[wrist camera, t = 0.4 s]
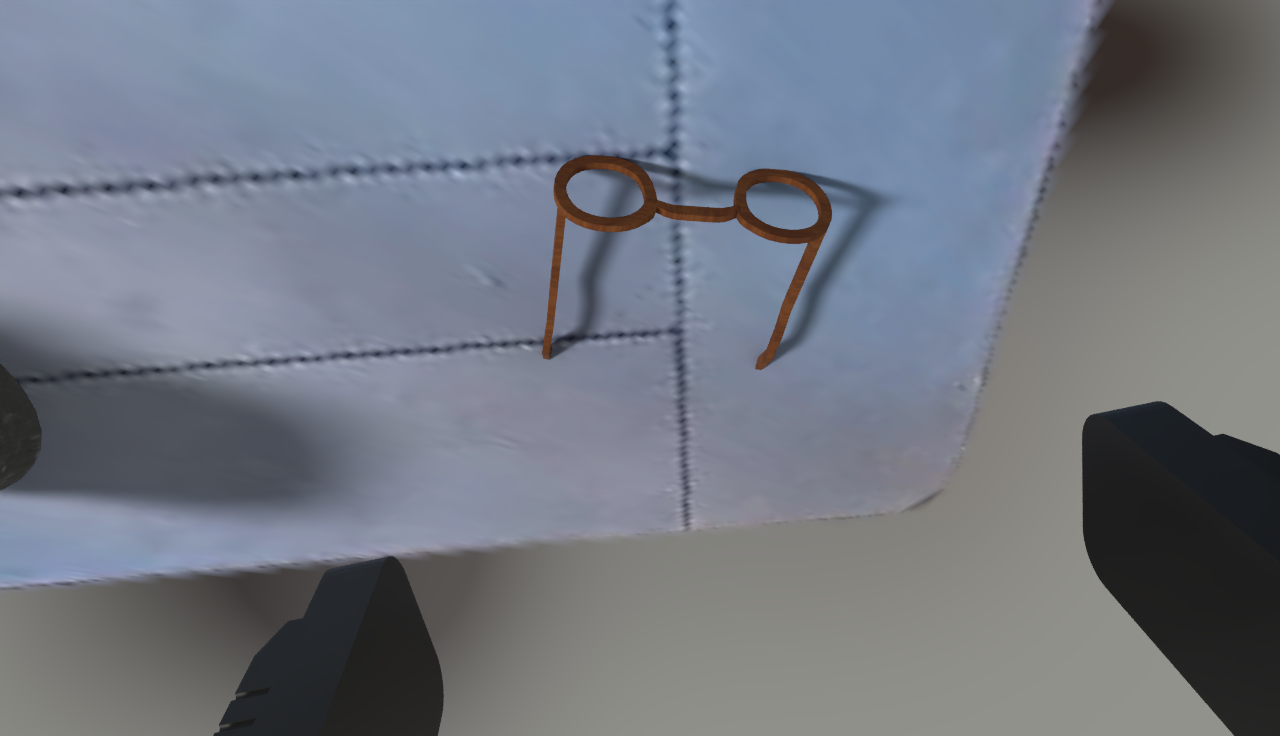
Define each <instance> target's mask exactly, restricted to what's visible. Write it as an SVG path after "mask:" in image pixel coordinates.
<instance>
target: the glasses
mask: <svg viewBox="0 0 1280 736" xmlns="http://www.w3.org/2000/svg"><path fill="white" fill-rule="evenodd" d="M589 169H607V170H613V171H617V172H620V173H623V174H625V175H627V176H629V177H631V178H632V179H633V180H634V181H635V182H637V184H638V185H639V187H640V189H641V191H642V194H643V198H644V205H643V206H642V207H641V208H640V209H639V210H638V211H636V212H635V213H633V214H631V215H628V216H624V217H617V218H606V217H599V216H595V215H591V214H588V213H586V212H583V211H582V210H580V209H578V208H577V207H576V206H575V205H574V204H573V203H572V202H571V200H570V199H569V197H568V194H567V191H566V186H567V183H568V181H569V180H570V179H571V177H573V176H574V175H575V174H577V173H579V172H581V171H585V170H589ZM762 182H780V183H785V184H789V185H792V186H795V187H797V188H799V189H801V190H803V191H804V192H805V193H806V194H808V195H809V196H810V197H811V199H812V200H813V201H814V203H815V205H816V207H817V210H818V215H819V217H818V221H817V222H816V224H814V225H813V226H811V227H809V228H805V229H800V230H787V229H780V228H776V227H773V226H770V225H768V224H766V223H764V222H762V221H761V220H759V219H758V218H756V217H755V216H754V215H753V214H752V213H751V212H750V210H749V208H748V206H747V202H746V192H747V190H748V189H749V188H750V187H751V186H753V185H755V184H758V183H762ZM554 199H555V202H556V205H557V207H558V208H557V219H556V229H555V239H554V249H553V259H552V269H551V280H550V290H549V301H548V313H547V323H546V330H545V337H544V344H543V351H542V354H543V358H544V359H549V360H550V355H551V349H552V348H551V340H552V333H553V326H554V317H555V309H556V300H557V291H558V282H559V272H560V263H561V254H562V245H563V236H564V227H565V218H567V219H568V220H570V221H572V222H573V223H575V224H577V225H579V226H582V227H584V228H587V229H591V230H595V231H603V232H622V231H628V230H632V229H635V228H638V227H640V226H642V225H644V224H646V223H647V222H649V221H650V220H652V219H653V218H654V215H655V213H658V214H660V215H662V216H665V217H668V218H671V219H675V220H686V221H700V222H726V221H729V220H732V219H735V218H737V220H738V221H739V223H740V224H741V225H742V226H743V227H745V228H746V229H748V230H750V231H751V232H753V233H755V234H756V235H758V236H760V237H763V238H765V239H768V240H771V241H775V242H779V243H787V244H801V243H808V244H807V247H806V249H805V251H804V254H803V256H802V259H801V261H800V263H799V266H798V268H797V270H796V273H795V275H794V277H793V280H792V282H791V284H790V287H789V289H788V292H787V294H786V296H785V299H784V301H783V303H782V307H781V310H780V313H779V316H778V319H777V322H776V326H775V329H774V331H773V334H772V336H771V339H770V342H769V344H768V347H767V349H766V350H765V351H764V352H763V353H762V354H761V355H760V356H759V357H758V360H757V364H756V368H755V369H758V370H762V369H763V368H764V367H765V366H766V365H767V364H768V363H770V362H771V361H772V359H773V357H774V355H775V352H776V350H777V348H778V346H779V343H780V341H781V339H782V336H783V333H784V330H785V328H786V325H787V322H788V319H789V316H790V313H791V310H792V308H793V306H794V304H795V301H796V299H797V297H798V295H799V292H800V290H801V288H802V286H803V283H804V281H805V279H806V276H807V274H808V272H809V270H810V267H811V265H812V263H813V261H814V258H815V256H816V254H817V251H818V249H819V247H820V245H821V242H822V240H823V238H824V236H825V233H826V231H827V229H828V227H829V224H830V222H831V218H832V209H831V205H830V202H829V199H828V198H827V196H826V194H825V193H824V191H823V190H822V189H821V188H820V187H819V186H818V185H817V184H816V183H814V182H813V181H812V180H810V179H808V178H807V177H805V176H803V175H800V174H797V173H795V172H791V171H787V170H776V169H759V170H755V171H751V172H749V173H747V174H745V175H743V176H742V177H741V178H740V179H739V181H738V184H737V187H736V190H735V193H734V206H732V207H726V208H710V207H696V206H681V205H672V204H668V203H665V202H662V201H659V200H657V196H656V192H655V189H654V186H653V183H652V181H651V179H650V178H649V176H648V174H647V173H646V172H645V171H644V170H643V169H642V168H641V167H639V166H637V165H636V164H634V163H632V162H629V161H627V160H624V159H621V158H617V157H611V156H598V155H592V156H583V157H579V158H575V159H573V160H571V161H569V162H567V163H566V164H564V165H563V166H562V167H561V168H560V170H559V171H558V172H557V175H556V177H555V183H554Z"/></svg>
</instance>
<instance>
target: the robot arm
mask: <svg viewBox="0 0 1280 736" xmlns="http://www.w3.org/2000/svg"><path fill="white" fill-rule="evenodd" d="M1082 469H1083V472H1082V475H1083V476H1082V477H1083V478H1082V479H1083V535H1084V541H1085V545H1086V549H1087V552H1088V556H1089V559H1090V561H1091V564H1092V566H1093V568H1094V570H1095V572H1096V574H1097V576H1098V577H1099V579H1100V580H1101V582H1102V583H1103V584H1104V586H1105V587H1106V588H1107V589H1108V590H1109V592H1110V593H1111V594H1112V595H1113V596H1114V597H1115V599H1116V600H1117V601H1118V602H1119V603H1120V604H1121V606H1122V607H1123V608H1124V609H1125V610H1126V611H1127V612H1128V614H1129V615H1130V616H1131V617H1132V618H1133V619H1134V621H1135V622H1136V623H1137V624H1138V625H1139V626H1140V628H1141V629H1142V630H1143V631H1144V632H1145V633H1146V634H1147V636H1148V637H1149V638H1150V639H1151V640H1152V641H1153V642H1154V644H1155V645H1156V646H1157V647H1158V648H1159V649H1160V651H1161V652H1162V653H1163V654H1164V655H1165V656H1166V657H1167V659H1168V660H1169V661H1170V662H1171V663H1172V664H1173V666H1174V667H1175V668H1176V669H1177V670H1178V671H1179V672H1180V674H1181V675H1182V676H1183V677H1184V678H1185V679H1186V680H1187V682H1188V683H1189V684H1190V685H1191V686H1192V688H1193V689H1194V690H1195V691H1196V692H1197V693H1198V694H1199V696H1200V697H1201V698H1202V699H1203V700H1204V701H1205V703H1206V704H1207V705H1208V706H1209V707H1210V708H1211V709H1212V711H1213V712H1214V713H1215V714H1216V715H1217V716H1218V717H1219V719H1221V721H1222V722H1223V723H1224V724H1225V726H1226V727H1227V728H1228V729H1229V730H1230V731H1231V732H1232V734H1233V735H1234V736H1280V455H1279V454H1278V453H1276V452H1273V451H1270V450H1267V449H1265V448H1262V447H1259V446H1256V445H1253V444H1251V443H1248V442H1245V441H1242V440H1239V439H1237V438H1234V437H1231V436H1228V435H1225V434H1220V435H1215V436H1213V435H1212V434H1210V433H1209V432H1207V431H1206V430H1205V429H1203V428H1202V427H1200V426H1199V425H1197V424H1196V423H1195V422H1193V421H1192V420H1190V419H1189V418H1188V417H1186V416H1185V415H1183V414H1182V413H1180V412H1179V411H1178V410H1176V409H1175V408H1174V407H1172V406H1170V405H1169V404H1167V403H1164V402H1161V401H1160V402H1159V401H1156V402H1151V403H1147V404H1142V405H1137V406H1132V407H1127V408H1122V409H1117V410H1113V411H1108V412H1103V413H1098V414H1093V415H1090V416H1089V417H1088V418H1087V419H1086V421H1085V423H1084V426H1083V432H1082ZM235 694H236V700H233V701H231V702H230V704H229V706H228V708H227V710H226V712H225V714H224V716H223V718H222V720H221V722H220V724H219V726H220V731H219V732H217V733H215V734H214V736H438V731H439V727H440V722H441V717H442V711H443V698H444V694H443V680H442V673H441V668H440V664H439V660H438V657H437V654H436V652H435V649H434V646H433V644H432V641H431V638H430V636H429V633H428V631H427V628H426V625H425V623H424V620H423V618H422V615H421V613H420V610H419V607H418V605H417V602H416V599H415V596H414V594H413V591H412V589H411V586H410V583H409V581H408V578H407V575H406V573H405V571H404V568H403V567H402V565H401V563H400V562H399V561H398V560H397V559H396V558H395V557H393V556H389V557H384V558H379V559H375V560H370V561H365V562H360V563H355V564H350V565H345V566H340V567H335V568H331V569H329V570H327V571H326V572H325V573H324V575H323V577H322V579H321V581H320V583H319V585H318V587H317V590H316V592H315V594H314V596H313V598H312V600H311V602H310V604H309V607H308V609H307V611H306V613H305V615H304V617H303V618H301V619H297V620H291V621H288V622H287V623H286V624H285V625H284V626H283V627H282V628H281V629H280V630H279V631H278V632H277V633H276V634H275V635H274V636H273V637H272V638H271V639H270V641H269V642H268V643H267V644H266V645H265V646H264V647H263V648H262V649H261V650H260V651H259V652H258V653H257V654H256V655H255V656H254V658H253V660H252V662H251V664H250V666H249V668H248V670H247V671H246V673H245V675H244V677H243V679H242V681H241V683H240V685H239V687H238V689H237V691H236V693H235Z"/></svg>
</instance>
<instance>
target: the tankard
mask: <svg viewBox="0 0 1280 736" xmlns="http://www.w3.org/2000/svg"><path fill="white" fill-rule="evenodd" d="M40 448H41V428H40V424H39V421H38V417H37V413H36V410H35V409H34V407H33V405H32V403H31V402H30V400H29V398H28V397H27V395H26V393H25V391H24V390H23V388H22V387H21V386H20V385H19V384H18V383H17V382H16V380H15V379H14V378H13V377H12V376H11V375H10V374H9V372H8V371H7V370H6V369H5V368H4V367H3V366H2V365H1V364H0V490H2V489H4V488H6V487H8V486H9V485H11V484H13V483H14V482H16V481H18V480H19V479H21V478H22V477H23V476H24V475H25V474H26V473H27V471H28V470H29V469H30V468H31V467H32V466H33V465H34V463H35V460H36V458H37V456H38V454H39V451H40Z"/></svg>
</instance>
